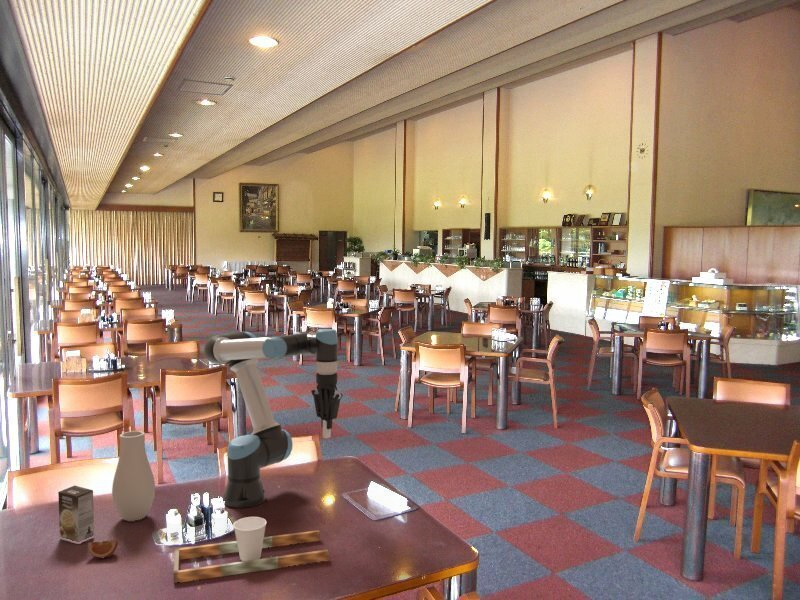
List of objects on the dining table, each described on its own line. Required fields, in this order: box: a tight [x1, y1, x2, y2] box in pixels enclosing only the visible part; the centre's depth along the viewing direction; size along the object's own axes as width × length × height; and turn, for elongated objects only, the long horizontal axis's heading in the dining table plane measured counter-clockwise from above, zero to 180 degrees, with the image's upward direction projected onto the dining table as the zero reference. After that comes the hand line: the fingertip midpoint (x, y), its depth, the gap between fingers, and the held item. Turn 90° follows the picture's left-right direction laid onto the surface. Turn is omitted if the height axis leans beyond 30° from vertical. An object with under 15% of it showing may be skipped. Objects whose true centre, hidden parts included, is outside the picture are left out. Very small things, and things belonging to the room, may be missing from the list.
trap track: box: [173, 529, 329, 584], centre depth 196 cm, size 44×15×3 cm, turn 108°
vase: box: [111, 430, 156, 522], centre depth 224 cm, size 14×14×30 cm
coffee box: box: [57, 485, 95, 542], centre depth 209 cm, size 9×6×16 cm
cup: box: [232, 516, 268, 562], centre depth 196 cm, size 10×10×11 cm
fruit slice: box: [87, 539, 119, 559], centre depth 198 cm, size 8×7×5 cm
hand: (326, 437), depth 233 cm, fingers closed
